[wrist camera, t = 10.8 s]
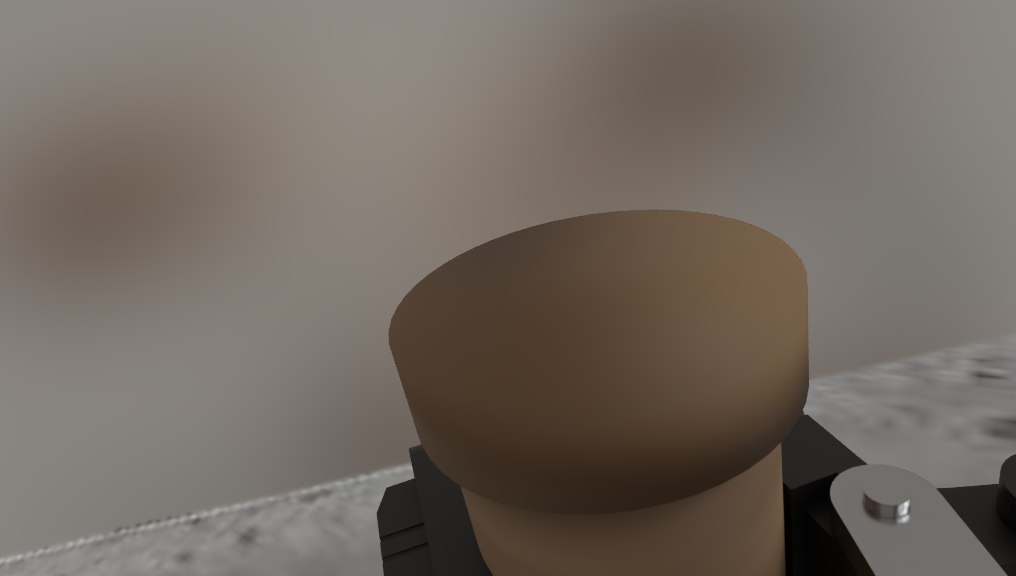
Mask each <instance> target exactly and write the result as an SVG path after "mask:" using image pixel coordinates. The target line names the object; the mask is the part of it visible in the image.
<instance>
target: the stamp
mask: <svg viewBox="0 0 1016 576" xmlns="http://www.w3.org/2000/svg"><path fill="white" fill-rule="evenodd" d="M807 293H808V288H807V275H806V270H805V268H804V265H803V263H802V261H801V259H800V258H799V256H798V255H797V254H796V253H795V252H794V250H793V249H792V248H791V247H790V246H788V245H787V244H786V243H785V242H784V241H783V240H781V239H780V238H778V237H776V236H774V235H773V234H771V233H769V232H768V231H766V230H763V229H761V228H759V227H756V226H754V225H752V224H748V223H745V222H742V221H739V220H736V219H731V218H727V217H723V216H718V215H712V214H705V213H698V212H689V211H688V212H687V211H677V210H631V211H618V212H608V213H599V214H591V215H585V216H579V217H572V218H567V219H563V220H558V221H553V222H549V223H545V224H541V225H537V226H533V227H530V228H527V229H523V230H520V231H517V232H514V233H511V234H508V235H505V236H502V237H499V238H497V239H494V240H491V241H489V242H487V243H485V244H482V245H480V246H477V247H475V248H473V249H471V250H469V251H467V252H465V253H463V254H461V255H459V256H457V257H455V258H454V259H452V260H450V261H448V262H447V263H445V264H443V265H442V266H440V267H439V268H437V269H436V270H435V271H433V272H432V273H430V274H429V275H427V277H425V278H424V279H423V280H422V281H420V282H419V283H418V284H417V285H416V286H415V287H414V288H413V289H412V290H411V291H410V292H409V293H408V294H407V295H406V296H405V297H404V299H403V300H402V302H401V303H400V304H399V306H398V307H397V309H396V311H395V313H394V315H393V317H392V319H391V324H390V328H389V345H390V348H391V351H392V354H393V358H394V361H395V364H396V367H397V370H398V373H399V376H400V379H401V383H402V386H403V389H404V392H405V395H406V398H407V401H408V405H409V408H410V411H411V414H412V417H413V420H414V423H415V427H416V430H417V433H418V436H419V438H420V441H421V444H422V447H423V448H424V450H425V452H426V453H427V455H428V456H429V458H430V460H431V461H432V462H433V463H434V464H435V465H436V466H437V467H438V468H439V469H440V470H441V471H442V473H443V474H445V475H446V476H447V477H449V478H450V479H452V480H453V481H454V482H456V483H457V484H459V485H460V486H461V489H462V493H463V496H464V499H465V503H466V506H467V509H468V513H469V516H470V519H471V523H472V526H473V530H474V533H475V536H476V540H477V543H478V546H479V549H480V551H481V554H482V557H483V559H484V561H485V563H486V565H487V566H488V568H489V570H490V571H491V573H492V576H786V564H785V537H784V509H783V482H782V455H781V442H782V441H783V440H784V439H785V438H786V437H787V435H788V434H789V433H790V431H791V430H792V428H793V427H794V425H795V424H796V422H797V421H798V420H799V417H800V415H801V413H802V410H803V408H804V406H805V403H806V399H807V393H808V388H809V363H808V362H809V360H808V294H807Z"/></svg>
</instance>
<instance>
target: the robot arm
mask: <svg viewBox="0 0 1016 576" xmlns="http://www.w3.org/2000/svg"><path fill="white" fill-rule="evenodd" d="M409 452H410V457H411V462H412V467H413V472H414V477H415V478H414V479H411V480H408V481H405V482H402V483H399V484H396V485H393V486H390V487H388V488H386V491H385V493H384V496H383V498H382V501H381V503H380V506H379V509H378V511H377V519H378V528H379V536H380V540H381V542H380V545H381V554H382V560H383V571H384V576H492V573H491V571H490V570H489V568H488V566H487V565H486V563H485V561H484V559H483V557H482V554H481V551H480V549H479V546H478V543H477V540H476V536H475V533H474V530H473V526H472V523H471V519H470V516H469V513H468V509H467V506H466V503H465V499H464V496H463V493H462V489H461V486H460V485H459V484H457V483H456V482H454V481H453V480H452V479H450V478H449V477H447V476H446V475H445V474H443V473H442V471H441V470H440V469H439V468H438V467H437V466H436V465H435V464H434V463H433V462H432V461H431V460H430V458H429V456H428V455H427V453H426V452H425V450H424V448H423V447H422V444H421V445H418V446H415V447H412V448H410V449H409ZM781 455H782V482H783V509H784V537H785V564H786V576H1016V454H1015V455H1013V456H1011V457H1009V458H1008V459H1007V460H1006V461H1005V462H1004V463H1003V465H1002V467H1001V471H1000V478H999V484H991V485H979V486H967V487H955V488H935V487H934V486H933V485H932V484H930V483H929V482H928V481H927V480H925V479H923V478H922V477H920V476H918V475H916V474H914V473H912V472H910V471H907V470H904V469H901V468H897V467H893V466H887V465H867V464H866V463H865V462H864V461H863V460H861V459H860V458H859V457H858V456H857V455H855V454H854V453H853V452H852V451H851V450H849V449H848V448H847V447H846V446H845V445H843V444H842V443H841V442H840V441H839V440H837V439H836V438H835V437H834V436H833V435H831V434H830V433H829V432H828V431H827V430H825V429H824V428H823V427H822V426H821V425H819V424H818V423H817V422H816V421H814V420H813V419H812V418H811V417H810V416H808V415H804V413H803V411H802V413H801V415H800V417H799V420H798V421H797V422H796V424H795V425H794V427H793V428H792V430H791V431H790V433H789V434H788V435H787V437H786V438H785V439H784V440H783V441H782V442H781Z"/></svg>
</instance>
